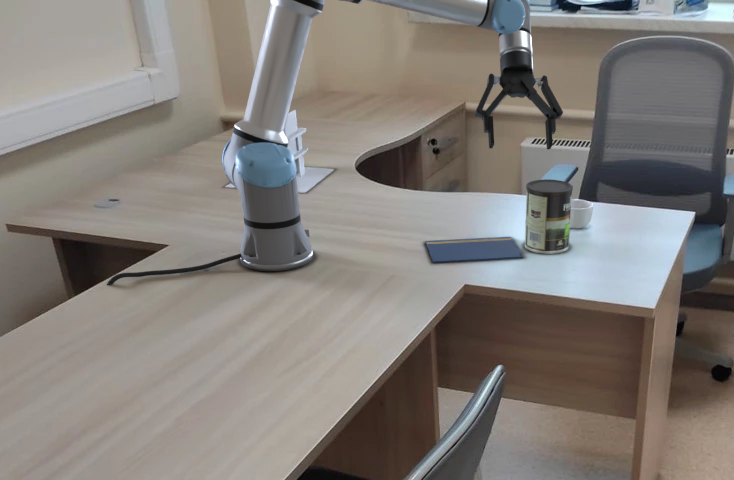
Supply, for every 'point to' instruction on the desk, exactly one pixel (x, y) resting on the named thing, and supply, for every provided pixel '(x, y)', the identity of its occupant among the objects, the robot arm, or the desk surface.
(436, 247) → the blue flat rectangular block
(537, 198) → the coffee can
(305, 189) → the architectural model
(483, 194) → the desk surface
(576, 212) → the teacup
